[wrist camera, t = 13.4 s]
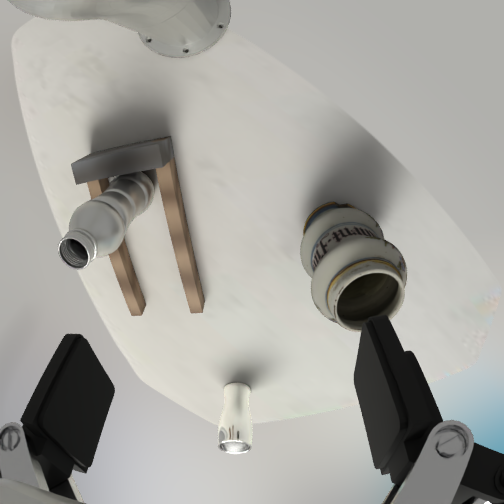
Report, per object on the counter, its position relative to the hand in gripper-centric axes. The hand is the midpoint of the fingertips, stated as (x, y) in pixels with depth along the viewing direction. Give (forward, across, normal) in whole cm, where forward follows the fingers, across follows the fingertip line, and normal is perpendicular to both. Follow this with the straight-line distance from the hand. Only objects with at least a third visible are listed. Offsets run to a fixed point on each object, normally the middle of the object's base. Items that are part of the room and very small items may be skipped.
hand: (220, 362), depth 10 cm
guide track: (+36, +16, +11) cm, 41 cm away
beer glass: (+36, +8, +51) cm, 63 cm away
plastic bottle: (+36, +17, +4) cm, 40 cm away
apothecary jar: (+36, -12, +14) cm, 41 cm away
